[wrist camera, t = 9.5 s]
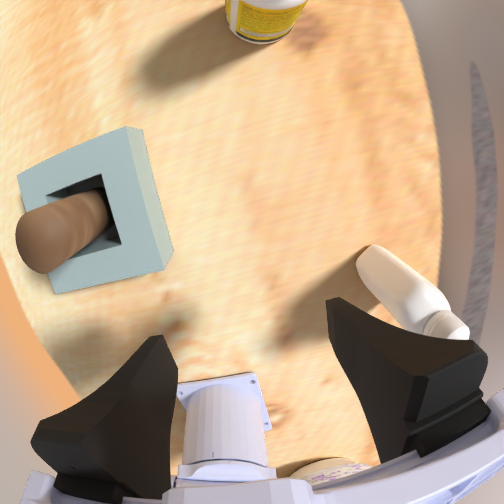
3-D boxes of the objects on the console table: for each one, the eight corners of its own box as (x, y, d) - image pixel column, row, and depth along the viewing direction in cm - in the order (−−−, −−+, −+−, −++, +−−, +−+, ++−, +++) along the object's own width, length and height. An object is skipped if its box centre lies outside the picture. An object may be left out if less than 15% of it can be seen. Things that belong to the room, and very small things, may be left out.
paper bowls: (383, 455, 35) (399, 491, 28) (312, 494, 38) (320, 528, 31) (331, 436, 31) (348, 486, 23) (250, 480, 34) (254, 524, 26)
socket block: (174, 250, 21) (164, 269, 18) (75, 274, 21) (56, 294, 18) (142, 129, 18) (125, 126, 15) (42, 169, 18) (16, 175, 15)
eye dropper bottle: (397, 232, 22) (502, 300, 11) (403, 289, 24) (485, 372, 13) (351, 249, 22) (442, 337, 11) (361, 307, 24) (432, 405, 13)
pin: (123, 226, 19) (70, 269, 12) (86, 234, 19) (26, 276, 12) (114, 182, 18) (52, 203, 11) (77, 192, 18) (9, 217, 11)
